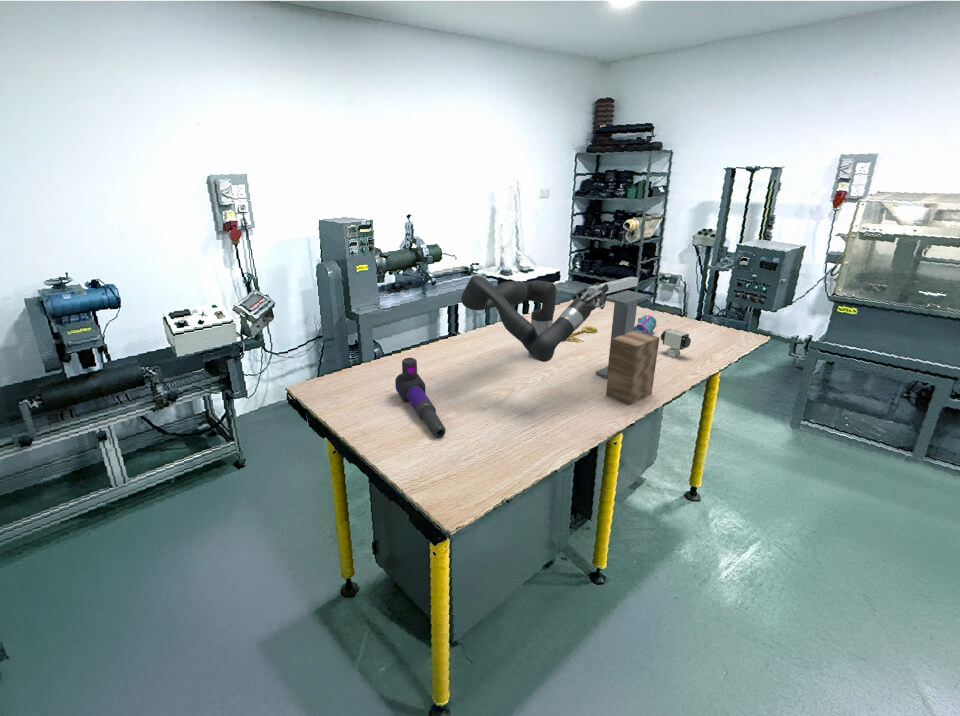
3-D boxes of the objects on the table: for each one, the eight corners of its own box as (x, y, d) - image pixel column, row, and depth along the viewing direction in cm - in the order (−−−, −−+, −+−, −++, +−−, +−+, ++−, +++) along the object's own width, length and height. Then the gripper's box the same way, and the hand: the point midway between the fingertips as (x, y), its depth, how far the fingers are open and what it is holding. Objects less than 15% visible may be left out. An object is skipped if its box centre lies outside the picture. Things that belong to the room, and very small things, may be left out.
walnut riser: (629, 405, 173) (636, 346, 165) (605, 395, 180) (611, 338, 172) (651, 393, 181) (659, 337, 173) (628, 384, 188) (634, 330, 180)
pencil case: (636, 330, 248) (639, 312, 245) (655, 332, 245) (657, 314, 241) (628, 343, 231) (630, 323, 228) (647, 346, 227) (650, 326, 224)
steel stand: (616, 382, 190) (625, 302, 178) (595, 374, 197) (602, 297, 185) (640, 372, 200) (650, 295, 188) (619, 364, 207) (627, 290, 195)
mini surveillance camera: (682, 361, 210) (686, 334, 206) (658, 353, 219) (661, 327, 214) (689, 358, 213) (693, 331, 209) (665, 350, 222) (668, 325, 217)
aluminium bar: (594, 297, 171) (595, 288, 169) (587, 295, 173) (588, 287, 172) (637, 285, 186) (638, 277, 185) (630, 284, 188) (631, 276, 187)
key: (557, 340, 236) (557, 337, 236) (587, 327, 253) (587, 324, 252) (576, 347, 229) (576, 343, 228) (605, 333, 246) (605, 330, 245)
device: (426, 447, 152) (425, 406, 146) (394, 392, 182) (392, 356, 175) (453, 441, 156) (454, 400, 149) (418, 388, 185) (416, 352, 179)
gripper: (587, 312, 161) (617, 280, 167) (555, 303, 171) (584, 273, 177) (592, 329, 166) (622, 296, 172) (561, 319, 176) (589, 289, 182)
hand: (602, 285), depth 174 cm, fingers closed on aluminium bar, 3 cm apart
